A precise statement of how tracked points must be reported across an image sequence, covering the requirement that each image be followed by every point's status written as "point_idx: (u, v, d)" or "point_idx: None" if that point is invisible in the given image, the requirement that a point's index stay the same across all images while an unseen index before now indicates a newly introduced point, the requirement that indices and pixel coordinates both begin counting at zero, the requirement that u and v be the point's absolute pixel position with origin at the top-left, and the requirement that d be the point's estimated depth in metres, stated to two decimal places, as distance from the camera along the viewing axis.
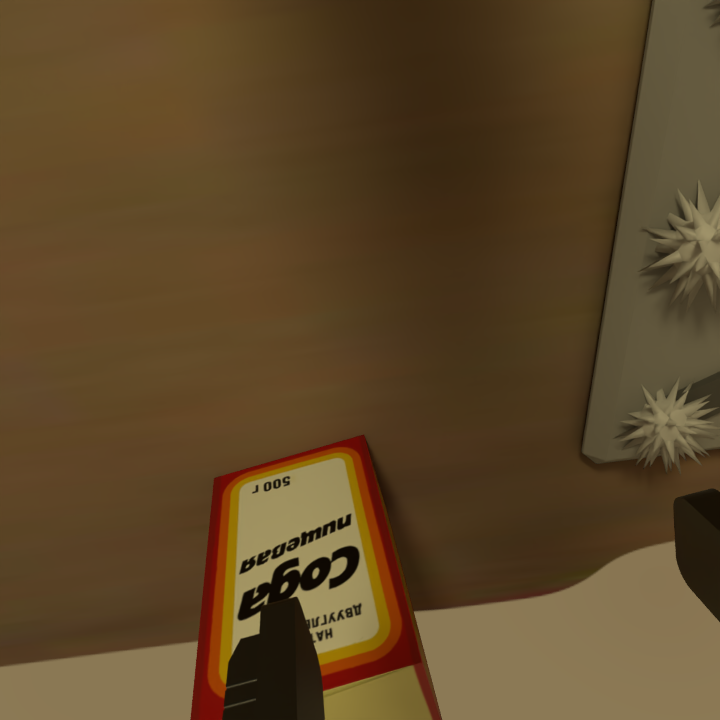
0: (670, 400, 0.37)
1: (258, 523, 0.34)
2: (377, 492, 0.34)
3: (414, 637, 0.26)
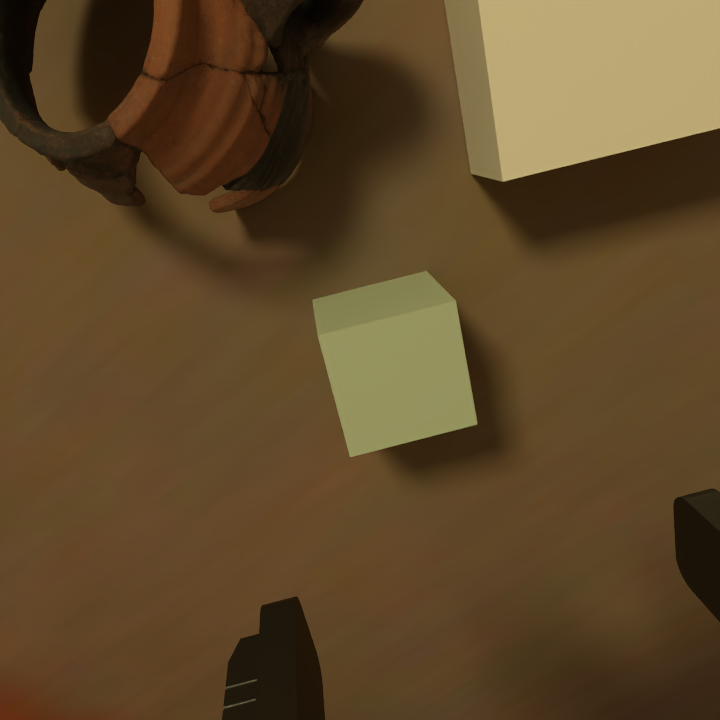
0: None
1: None
2: None
3: None
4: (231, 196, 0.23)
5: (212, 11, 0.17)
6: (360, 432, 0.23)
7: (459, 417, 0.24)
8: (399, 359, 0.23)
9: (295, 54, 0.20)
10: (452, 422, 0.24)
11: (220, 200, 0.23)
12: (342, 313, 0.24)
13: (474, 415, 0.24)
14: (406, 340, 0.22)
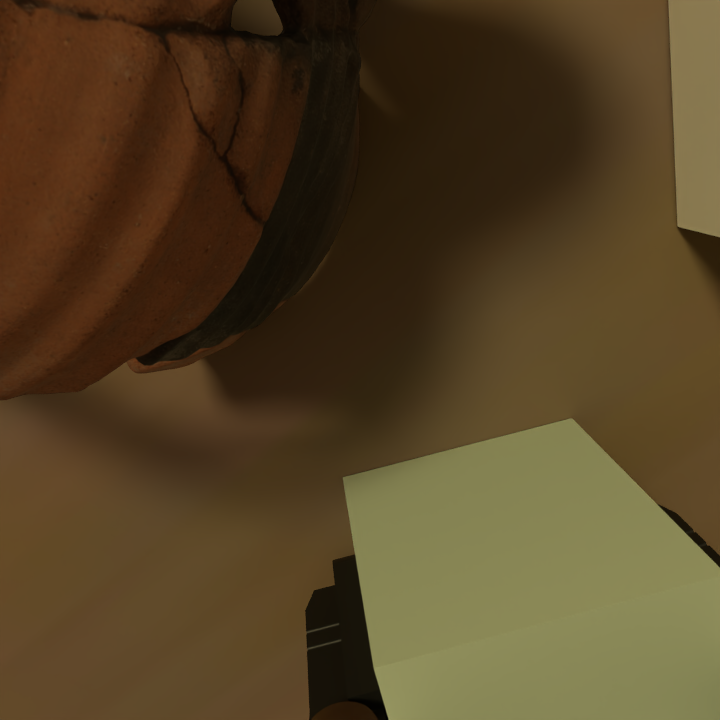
0: None
1: None
2: None
3: None
4: None
5: None
6: None
7: None
8: (571, 703, 0.09)
9: None
10: None
11: None
12: (420, 562, 0.10)
13: None
14: (593, 664, 0.09)
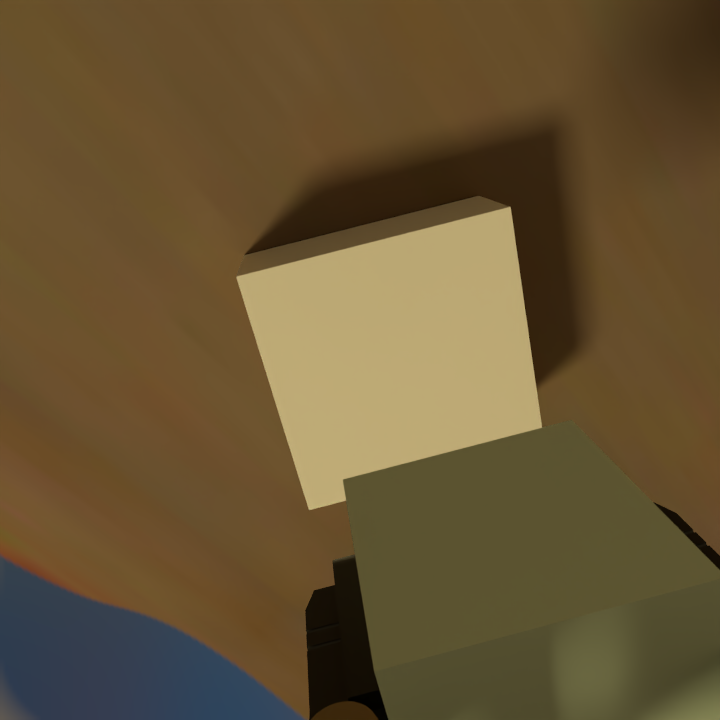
0: None
1: None
2: None
3: None
4: None
5: None
6: None
7: None
8: (571, 705, 0.09)
9: None
10: None
11: None
12: (421, 565, 0.10)
13: None
14: (594, 667, 0.09)
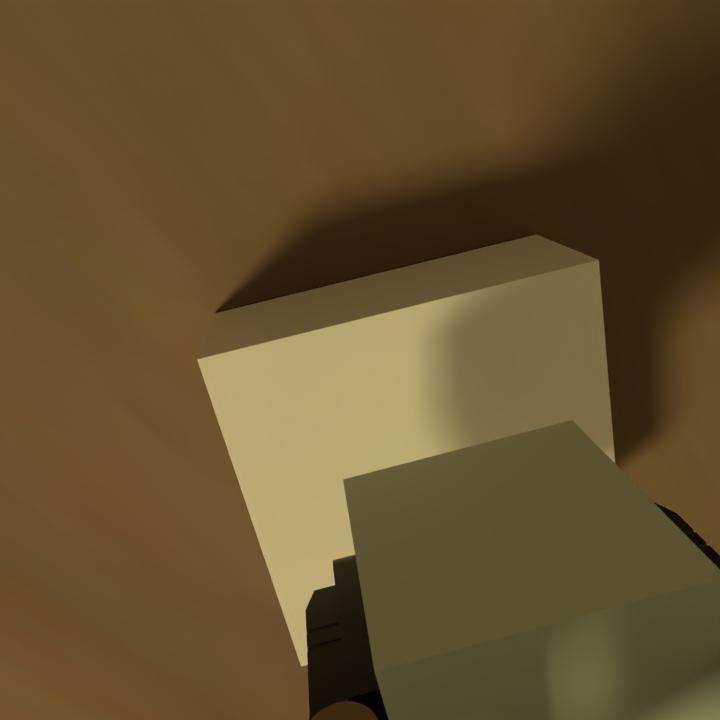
0: None
1: None
2: None
3: None
4: None
5: None
6: None
7: None
8: (571, 706, 0.09)
9: None
10: None
11: None
12: (421, 564, 0.10)
13: None
14: (594, 666, 0.09)
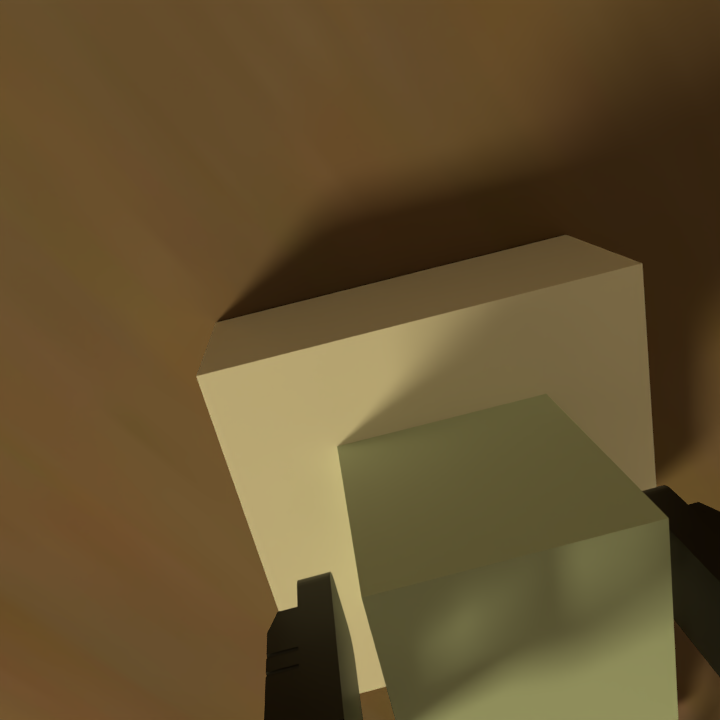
0: None
1: None
2: None
3: None
4: None
5: None
6: None
7: None
8: (535, 633, 0.10)
9: None
10: None
11: None
12: (405, 513, 0.12)
13: None
14: (554, 597, 0.10)
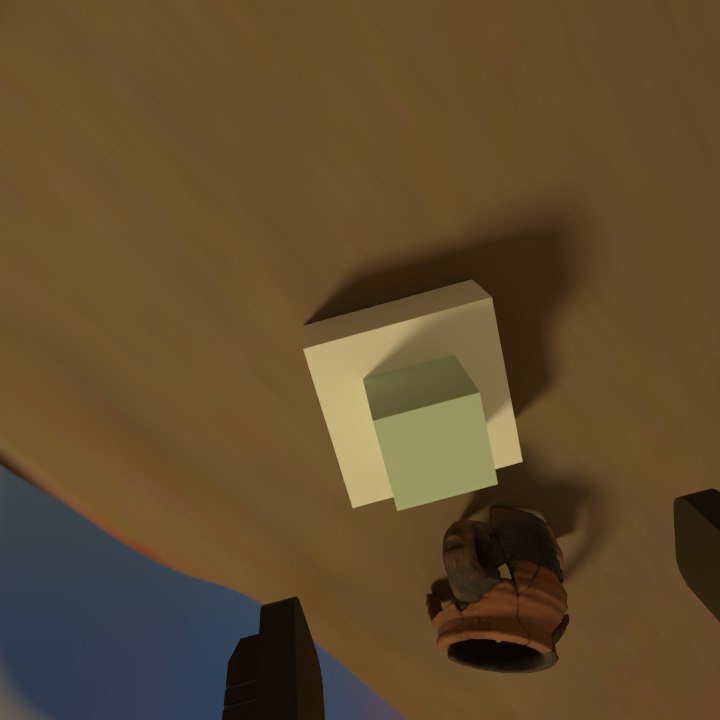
0: None
1: None
2: None
3: None
4: (557, 560, 0.41)
5: (492, 609, 0.37)
6: (405, 492, 0.30)
7: (483, 479, 0.30)
8: (435, 436, 0.29)
9: (494, 550, 0.38)
10: (477, 483, 0.30)
11: None
12: (389, 398, 0.30)
13: (495, 477, 0.30)
14: (441, 422, 0.29)
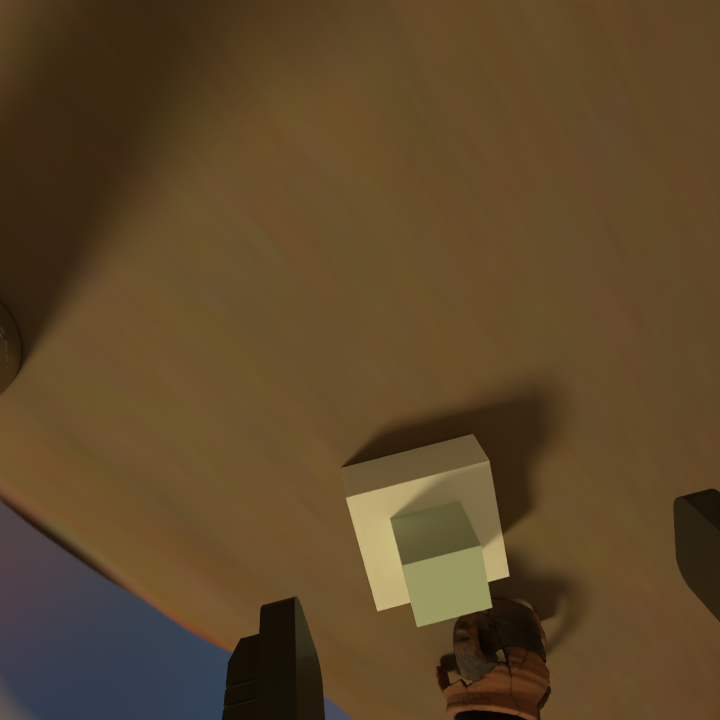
0: None
1: None
2: None
3: None
4: (541, 642, 0.51)
5: (491, 687, 0.47)
6: (423, 614, 0.40)
7: (481, 604, 0.40)
8: (447, 575, 0.39)
9: (493, 637, 0.49)
10: (477, 607, 0.40)
11: (542, 644, 0.51)
12: (413, 543, 0.40)
13: (490, 602, 0.40)
14: (452, 566, 0.39)
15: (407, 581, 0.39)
